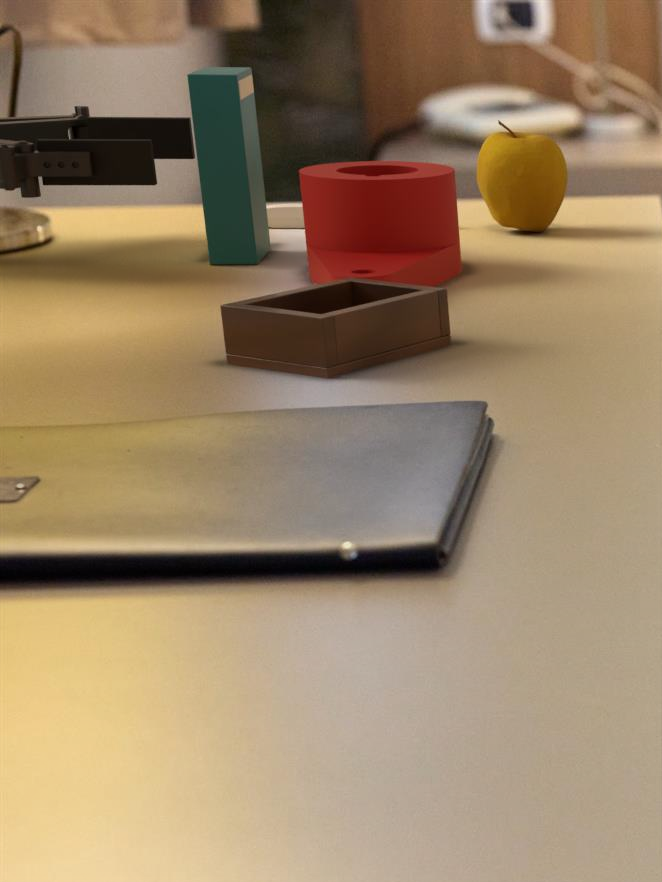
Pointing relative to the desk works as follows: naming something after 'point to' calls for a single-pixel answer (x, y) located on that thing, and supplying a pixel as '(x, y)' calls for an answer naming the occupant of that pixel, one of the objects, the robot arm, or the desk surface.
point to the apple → (522, 179)
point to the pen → (285, 216)
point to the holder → (335, 326)
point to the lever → (381, 221)
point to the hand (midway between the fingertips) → (174, 149)
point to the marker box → (229, 164)
